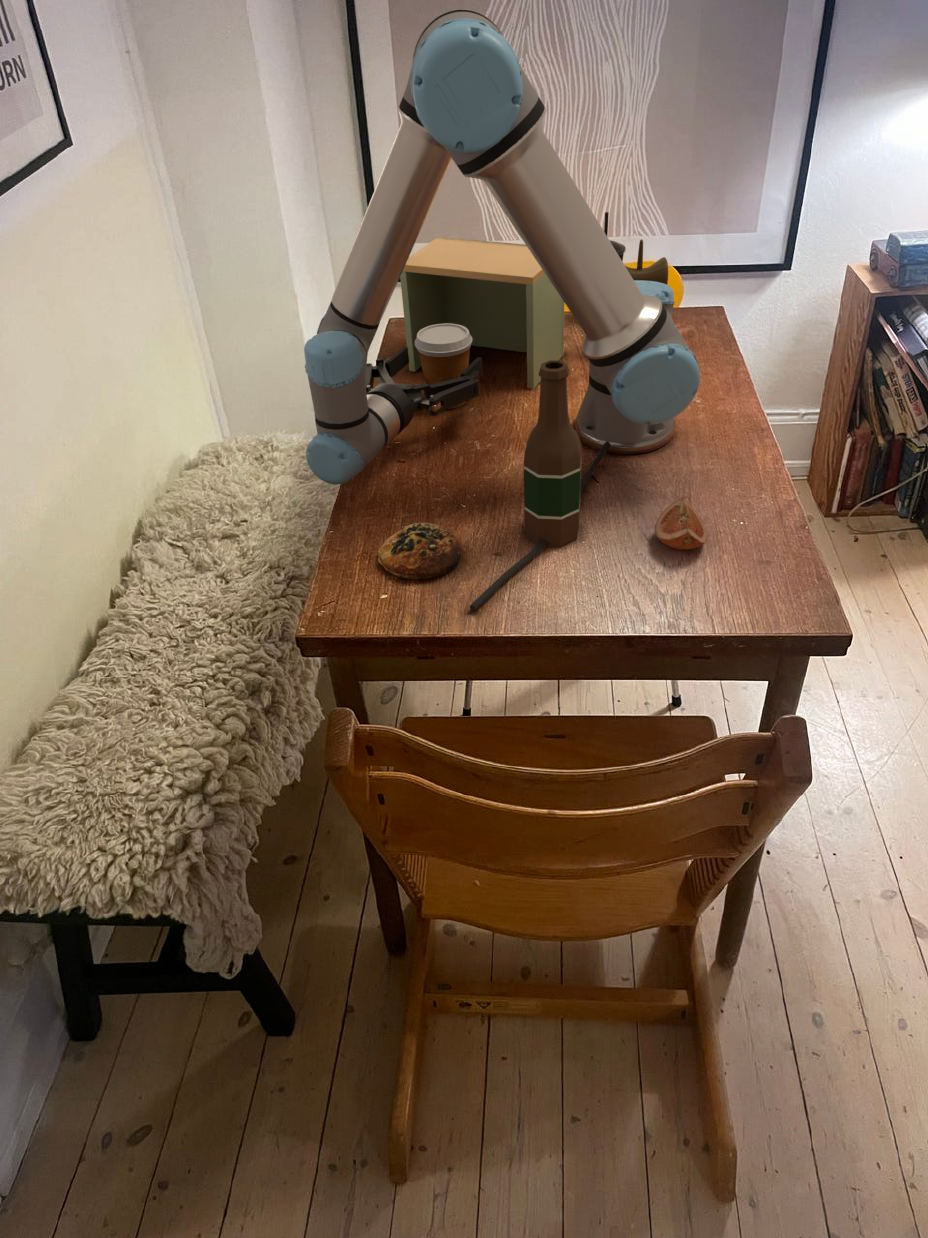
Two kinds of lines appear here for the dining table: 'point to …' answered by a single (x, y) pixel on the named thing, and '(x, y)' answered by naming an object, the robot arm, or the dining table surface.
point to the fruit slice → (680, 526)
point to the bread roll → (420, 552)
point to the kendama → (649, 269)
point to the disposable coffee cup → (443, 352)
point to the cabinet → (484, 299)
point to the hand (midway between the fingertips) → (442, 359)
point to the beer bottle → (552, 464)
